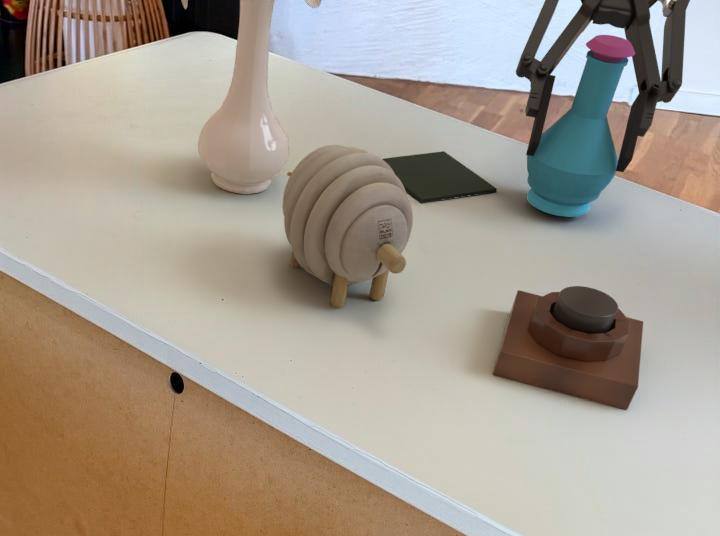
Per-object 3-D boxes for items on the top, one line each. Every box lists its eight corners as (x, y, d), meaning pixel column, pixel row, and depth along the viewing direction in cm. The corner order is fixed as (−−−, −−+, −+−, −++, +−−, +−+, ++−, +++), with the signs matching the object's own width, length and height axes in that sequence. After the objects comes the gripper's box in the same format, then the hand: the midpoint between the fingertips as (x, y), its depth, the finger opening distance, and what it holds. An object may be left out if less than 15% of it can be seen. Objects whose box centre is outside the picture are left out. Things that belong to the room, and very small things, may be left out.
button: (611, 314, 77) (620, 294, 75) (608, 342, 74) (616, 322, 72) (554, 300, 77) (562, 280, 76) (548, 327, 74) (556, 307, 73)
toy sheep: (332, 234, 89) (353, 110, 81) (440, 319, 80) (477, 190, 72) (239, 252, 85) (251, 123, 77) (343, 344, 76) (369, 210, 68)
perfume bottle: (503, 181, 100) (550, 21, 89) (583, 185, 101) (639, 28, 90) (530, 220, 94) (584, 54, 83) (614, 224, 95) (679, 60, 84)
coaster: (496, 192, 100) (497, 188, 99) (421, 203, 96) (422, 199, 96) (443, 154, 105) (443, 151, 105) (370, 163, 101) (370, 159, 101)
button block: (633, 343, 81) (652, 301, 78) (626, 410, 74) (648, 366, 71) (510, 312, 82) (524, 270, 79) (492, 374, 75) (507, 330, 72)
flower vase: (127, 175, 94) (127, -142, 75) (269, 145, 102) (301, -146, 83) (200, 229, 87) (221, -102, 69) (345, 193, 96) (398, -111, 77)
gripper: (727, -34, 93) (671, 193, 94) (518, -67, 94) (466, 156, 96) (762, -89, 85) (701, 158, 87) (535, -124, 87) (478, 118, 88)
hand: (578, 156), depth 91 cm, fingers closed on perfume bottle, 8 cm apart
